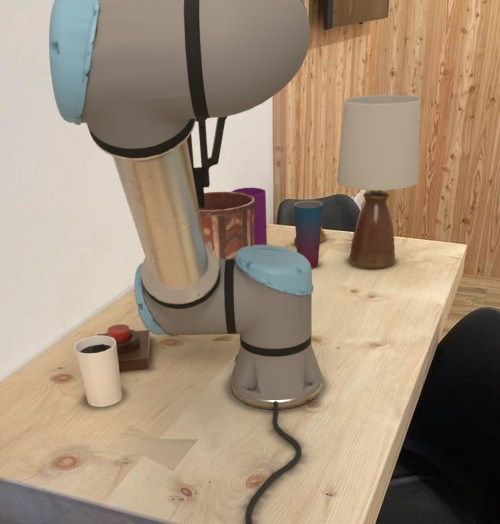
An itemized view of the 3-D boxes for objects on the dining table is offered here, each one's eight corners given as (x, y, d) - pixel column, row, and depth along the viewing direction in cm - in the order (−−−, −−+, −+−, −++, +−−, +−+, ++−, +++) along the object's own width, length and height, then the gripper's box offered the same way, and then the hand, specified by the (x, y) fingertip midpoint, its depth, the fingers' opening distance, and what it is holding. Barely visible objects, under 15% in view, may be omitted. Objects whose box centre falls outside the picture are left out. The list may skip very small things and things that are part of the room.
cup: (326, 262, 159) (327, 202, 151) (313, 271, 154) (314, 209, 146) (302, 258, 162) (302, 199, 154) (289, 267, 157) (288, 205, 150)
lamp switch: (130, 342, 116) (128, 332, 115) (108, 344, 116) (106, 334, 115) (131, 333, 119) (130, 323, 118) (110, 335, 119) (108, 325, 118)
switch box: (148, 369, 115) (145, 349, 113) (92, 373, 114) (88, 353, 112) (150, 340, 125) (147, 321, 123) (99, 344, 124) (95, 325, 122)
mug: (271, 244, 173) (269, 187, 165) (255, 263, 161) (253, 203, 153) (239, 242, 176) (236, 186, 168) (220, 261, 163) (217, 201, 155)
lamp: (322, 255, 164) (326, 98, 144) (387, 246, 168) (399, 92, 149) (354, 279, 148) (363, 107, 129) (424, 268, 153) (443, 100, 134)
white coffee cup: (91, 387, 110) (81, 335, 105) (129, 388, 109) (121, 335, 104) (79, 407, 104) (67, 353, 99) (118, 408, 103) (109, 354, 98)
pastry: (308, 249, 168) (308, 235, 167) (287, 245, 172) (287, 231, 170) (328, 240, 174) (328, 226, 172) (308, 236, 178) (308, 222, 176)
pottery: (206, 260, 164) (201, 188, 155) (268, 267, 157) (266, 193, 148) (170, 283, 151) (162, 207, 141) (236, 293, 144) (232, 213, 135)
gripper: (227, 57, 108) (234, 198, 120) (150, 61, 107) (165, 202, 119) (230, 59, 101) (237, 208, 114) (148, 63, 100) (164, 213, 113)
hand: (200, 205), depth 116 cm, fingers closed
